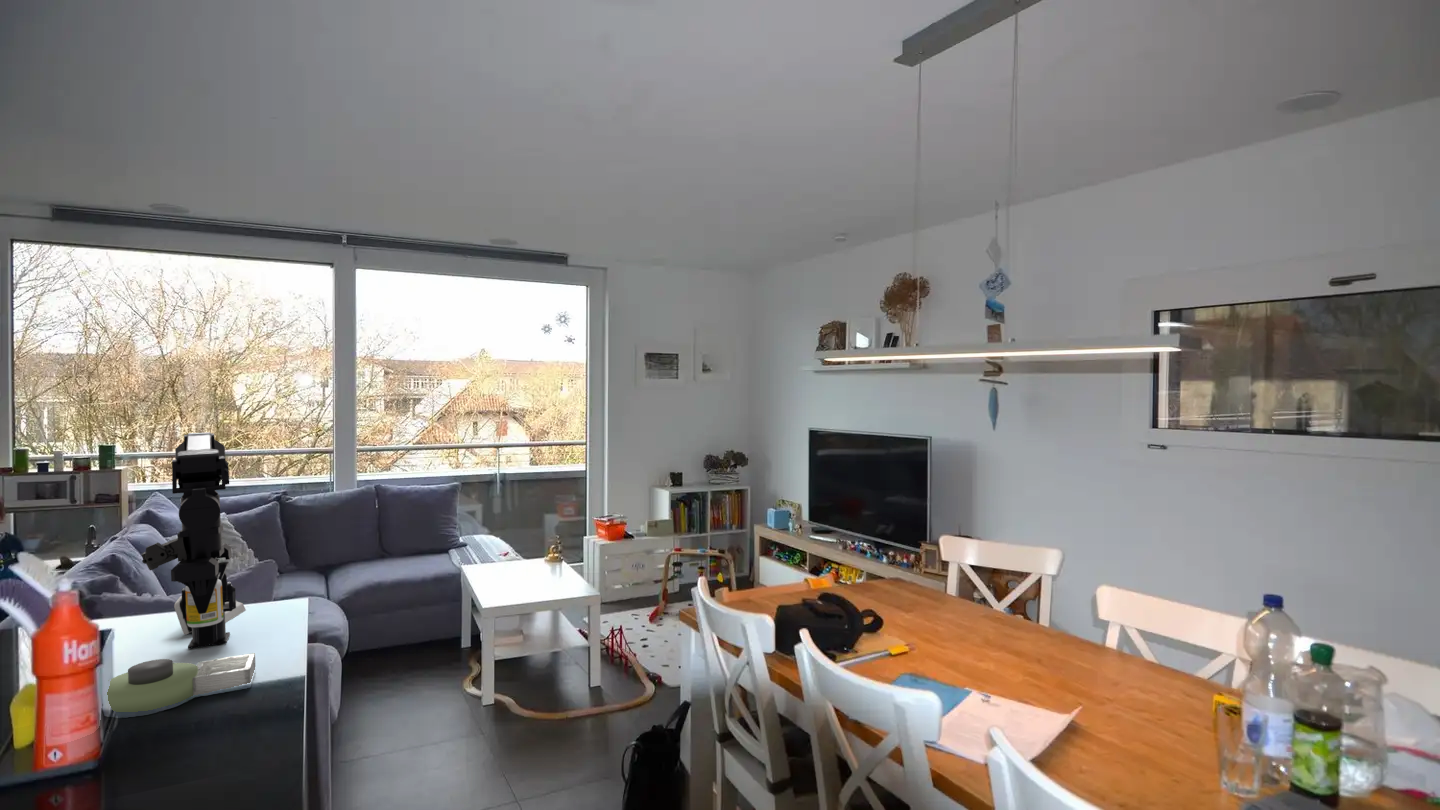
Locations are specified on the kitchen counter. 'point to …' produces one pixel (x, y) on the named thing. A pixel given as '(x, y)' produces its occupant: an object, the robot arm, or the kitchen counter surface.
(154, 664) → the green base with knob
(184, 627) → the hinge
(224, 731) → the kitchen counter surface
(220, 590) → the supplement bottle
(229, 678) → the white open tray
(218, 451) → the robot arm
